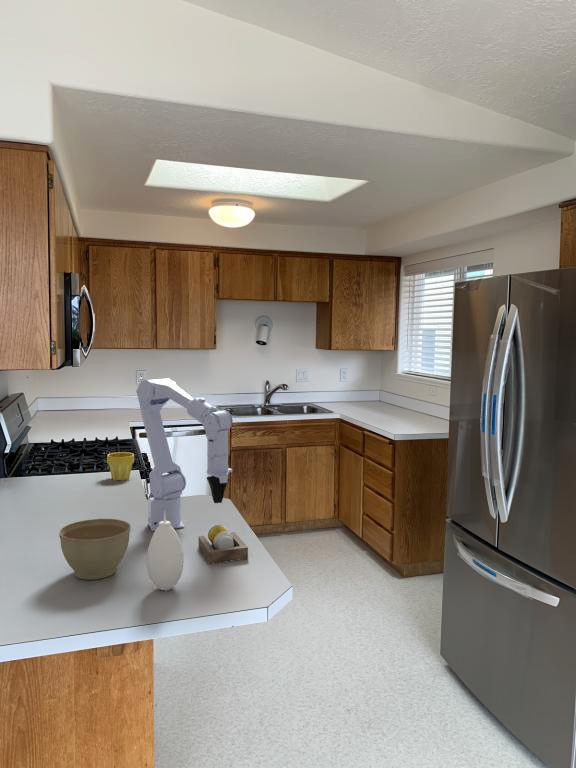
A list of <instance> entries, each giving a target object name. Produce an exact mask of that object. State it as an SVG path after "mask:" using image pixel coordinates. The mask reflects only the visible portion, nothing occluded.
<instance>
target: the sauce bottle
mask: <svg viewBox="0 0 576 768" xmlns="http://www.w3.org/2000/svg"><path fill="white" fill-rule="evenodd" d="M146 553H147V554H146V569H147V573H148V577H149V580H150V582H151V583H152V585H153V586H155V587H157V589H158V590H161V591H163V590H165V591H164V592H166V590H167V591H169V590H170V589H173V588H174V586H175V585H177V584H178V582H179V581H180V579H181V576H182V574H183V569H184V551H183V547H182V542H181V539H180V538H179V535H178V533H177V532H176V530H175V528H173V527H172V526H171V522H170V521H166V513H165V510H164V521H161V522H159V527H158V528H157V529H156V531H153V534H152V537H151V539H150V542H149V545H148V549H147V552H146Z"/></svg>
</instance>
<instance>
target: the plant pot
mask: <svg viewBox="0 0 576 768" xmlns="http://www.w3.org/2000/svg"><path fill="white" fill-rule="evenodd" d="M106 460H107V461H106V464H108V465H109V466H108V467H109V471H110V475H111V480H112V479H113V480H112V481H116V480H122V481H127V480H126V479H128V480H130V477H131V471H132V467H133V464H134V462H135V454H134V453H132V452H129V451H128V452H127V451H121V452H119V451H118V452H112V453H108V454H107V455H106Z"/></svg>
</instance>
